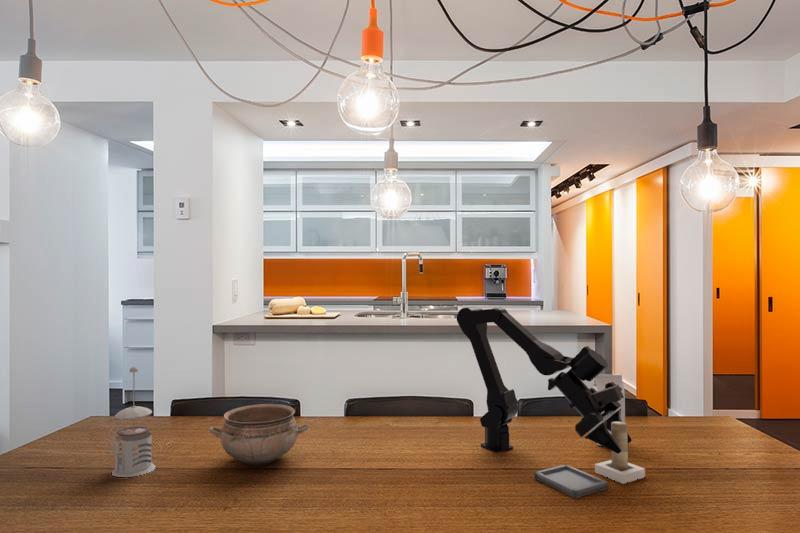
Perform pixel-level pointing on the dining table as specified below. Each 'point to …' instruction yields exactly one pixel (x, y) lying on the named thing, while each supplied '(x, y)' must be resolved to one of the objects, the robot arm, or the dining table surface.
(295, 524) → the dining table surface
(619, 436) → the dowel
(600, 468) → the socket
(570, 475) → the tray
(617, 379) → the milk carton
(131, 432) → the french press
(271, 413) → the cooking pot
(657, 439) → the dining table surface
